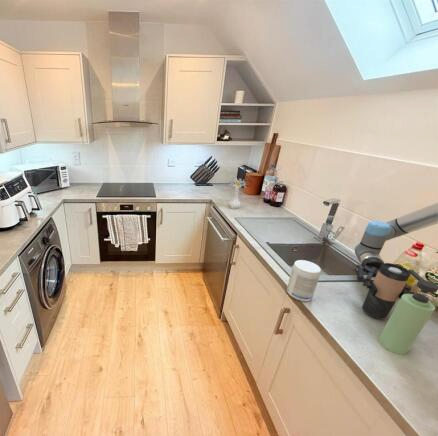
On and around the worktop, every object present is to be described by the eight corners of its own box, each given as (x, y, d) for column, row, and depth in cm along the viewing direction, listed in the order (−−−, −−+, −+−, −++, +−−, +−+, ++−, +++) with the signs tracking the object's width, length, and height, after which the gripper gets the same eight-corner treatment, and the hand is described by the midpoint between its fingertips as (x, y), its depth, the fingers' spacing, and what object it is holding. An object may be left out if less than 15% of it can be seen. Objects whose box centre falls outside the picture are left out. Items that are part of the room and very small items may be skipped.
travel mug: (391, 321, 86) (416, 277, 78) (366, 316, 89) (387, 272, 81) (381, 307, 93) (403, 265, 85) (357, 302, 95) (377, 260, 87)
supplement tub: (317, 300, 99) (328, 271, 93) (298, 304, 96) (308, 275, 90) (298, 285, 107) (307, 258, 101) (280, 289, 105) (288, 261, 99)
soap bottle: (402, 341, 80) (432, 293, 72) (410, 358, 75) (443, 308, 66) (375, 333, 84) (401, 286, 75) (381, 348, 78) (409, 299, 70)
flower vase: (236, 203, 207) (241, 175, 197) (245, 211, 190) (251, 181, 181) (222, 203, 207) (226, 175, 197) (229, 211, 190) (234, 181, 180)
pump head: (437, 298, 68) (442, 290, 67) (419, 295, 69) (424, 286, 68) (414, 277, 76) (419, 270, 75) (399, 275, 78) (403, 267, 76)
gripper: (400, 279, 98) (425, 316, 80) (340, 265, 107) (349, 295, 89) (408, 264, 95) (436, 299, 77) (345, 250, 104) (356, 279, 86)
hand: (389, 297), depth 83 cm, fingers closed on travel mug, 7 cm apart
